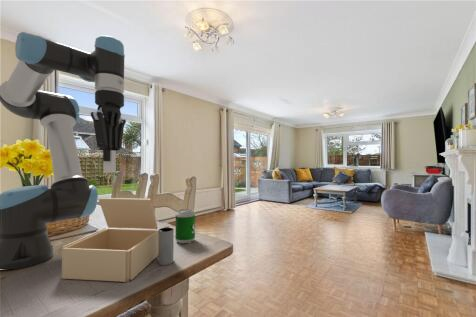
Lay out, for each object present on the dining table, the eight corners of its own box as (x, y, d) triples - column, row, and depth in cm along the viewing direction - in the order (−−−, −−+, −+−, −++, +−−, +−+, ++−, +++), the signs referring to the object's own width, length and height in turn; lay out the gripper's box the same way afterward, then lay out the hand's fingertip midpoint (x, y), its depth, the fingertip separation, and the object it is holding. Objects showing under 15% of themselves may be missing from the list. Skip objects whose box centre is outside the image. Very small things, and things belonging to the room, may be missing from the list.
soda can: (190, 245, 88) (190, 213, 88) (171, 243, 90) (172, 212, 90) (197, 238, 96) (197, 209, 96) (180, 237, 97) (180, 208, 97)
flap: (108, 227, 82) (98, 198, 77) (108, 226, 82) (99, 197, 77) (157, 228, 80) (150, 199, 75) (157, 227, 81) (151, 198, 76)
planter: (165, 266, 71) (165, 232, 71) (155, 263, 73) (155, 230, 73) (176, 261, 75) (176, 228, 75) (166, 257, 77) (166, 226, 77)
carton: (58, 279, 63) (58, 248, 63) (105, 251, 83) (105, 227, 83) (129, 283, 61) (129, 251, 61) (161, 253, 81) (161, 229, 81)
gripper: (107, 84, 62) (107, 174, 62) (134, 98, 75) (133, 171, 75) (80, 85, 63) (80, 174, 63) (111, 98, 76) (111, 171, 76)
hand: (109, 172), depth 69 cm, fingers closed
